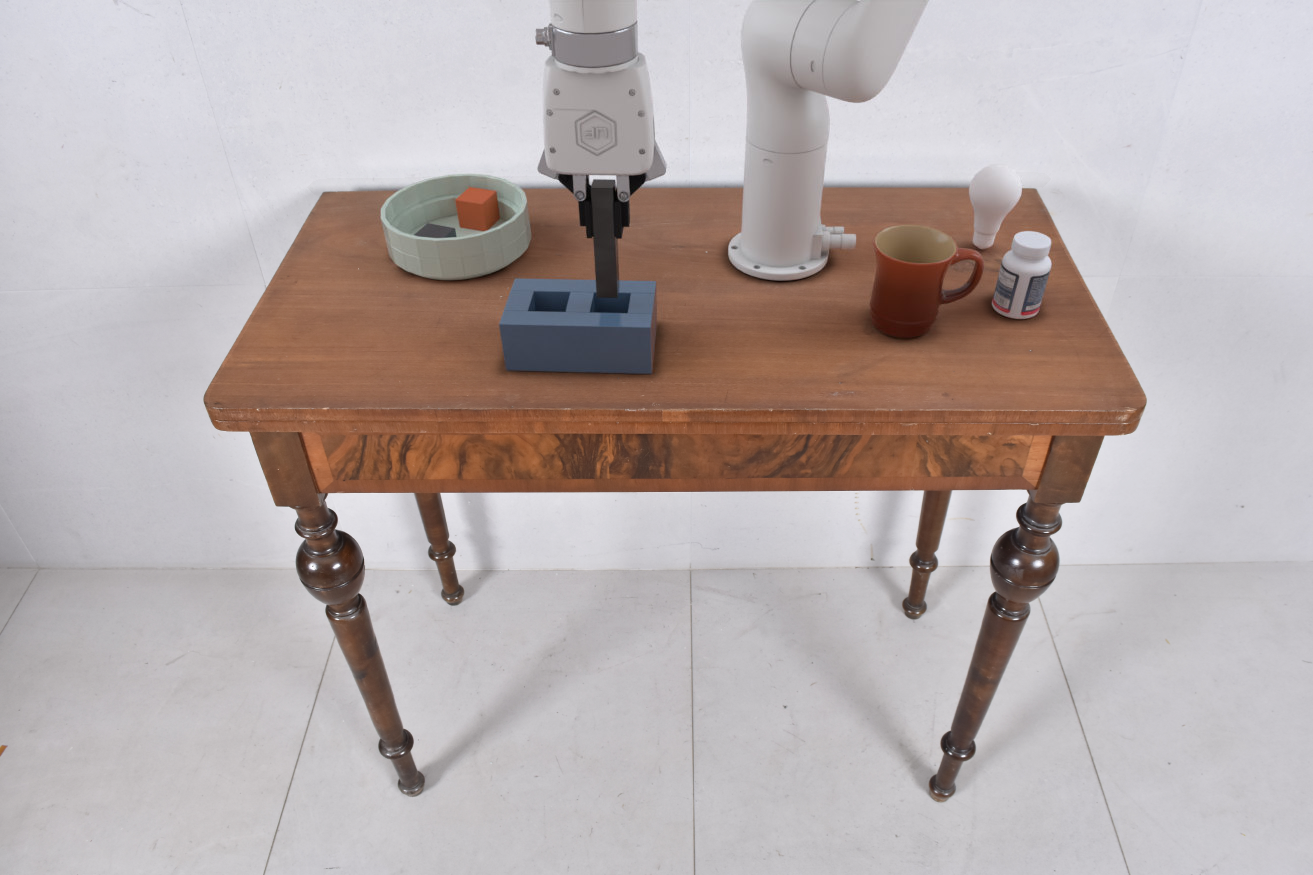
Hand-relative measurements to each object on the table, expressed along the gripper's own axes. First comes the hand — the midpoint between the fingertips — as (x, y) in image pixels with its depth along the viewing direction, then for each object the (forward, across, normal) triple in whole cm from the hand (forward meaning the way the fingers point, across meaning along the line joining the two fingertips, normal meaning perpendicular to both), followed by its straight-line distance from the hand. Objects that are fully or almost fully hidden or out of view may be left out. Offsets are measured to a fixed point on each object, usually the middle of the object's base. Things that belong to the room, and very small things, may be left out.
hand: (605, 230), depth 93 cm
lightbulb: (+14, +45, +24) cm, 53 cm away
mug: (+15, +34, +6) cm, 37 cm away
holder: (+14, -3, 0) cm, 15 cm away
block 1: (+14, -24, +17) cm, 32 cm away
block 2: (+14, -20, +27) cm, 37 cm away
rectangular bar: (+7, 0, -1) cm, 7 cm away
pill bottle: (+15, +46, +10) cm, 49 cm away
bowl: (+14, -22, +22) cm, 34 cm away
